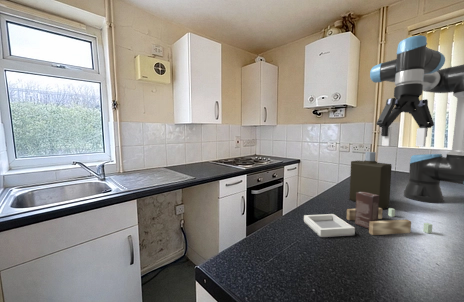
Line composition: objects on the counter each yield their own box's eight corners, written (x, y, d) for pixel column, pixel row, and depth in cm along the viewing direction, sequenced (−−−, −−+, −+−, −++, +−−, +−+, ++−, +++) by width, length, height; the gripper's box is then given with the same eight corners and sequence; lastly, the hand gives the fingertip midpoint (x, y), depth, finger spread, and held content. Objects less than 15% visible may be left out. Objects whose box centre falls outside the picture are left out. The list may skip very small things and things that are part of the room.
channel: (378, 217, 83) (379, 207, 82) (410, 232, 69) (411, 221, 69) (346, 218, 81) (346, 209, 81) (372, 235, 68) (373, 223, 68)
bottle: (381, 210, 90) (385, 153, 88) (346, 200, 104) (349, 151, 102) (391, 207, 93) (394, 153, 91) (356, 197, 108) (358, 150, 105)
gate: (391, 215, 84) (391, 208, 84) (431, 233, 69) (432, 224, 69) (388, 215, 84) (388, 208, 84) (427, 233, 69) (428, 224, 69)
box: (378, 227, 73) (380, 195, 72) (370, 230, 71) (372, 196, 70) (361, 221, 79) (362, 190, 78) (353, 223, 77) (355, 192, 76)
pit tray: (333, 220, 80) (333, 213, 80) (354, 235, 68) (354, 227, 68) (303, 221, 79) (304, 215, 78) (320, 237, 67) (320, 229, 67)
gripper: (428, 89, 76) (423, 146, 77) (367, 86, 73) (363, 145, 74) (452, 84, 68) (446, 147, 70) (385, 80, 66) (380, 146, 67)
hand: (403, 146), depth 72 cm, fingers open, 13 cm apart
